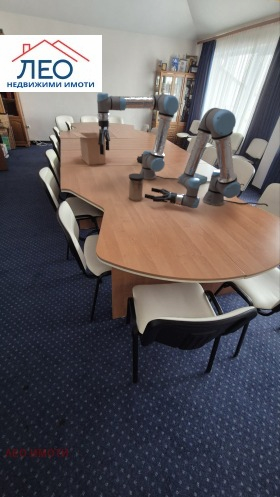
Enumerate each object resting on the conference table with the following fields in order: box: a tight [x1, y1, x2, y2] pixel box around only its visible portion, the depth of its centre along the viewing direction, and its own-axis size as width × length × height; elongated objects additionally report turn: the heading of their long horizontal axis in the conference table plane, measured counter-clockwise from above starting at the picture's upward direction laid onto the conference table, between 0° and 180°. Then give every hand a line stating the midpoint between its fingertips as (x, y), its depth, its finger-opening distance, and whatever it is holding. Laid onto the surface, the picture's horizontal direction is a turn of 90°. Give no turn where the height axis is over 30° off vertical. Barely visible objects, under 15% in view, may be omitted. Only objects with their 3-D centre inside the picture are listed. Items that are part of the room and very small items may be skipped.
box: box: [70, 129, 114, 166], centre depth 229 cm, size 44×36×27 cm
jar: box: [128, 179, 144, 202], centre depth 162 cm, size 10×10×16 cm
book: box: [177, 172, 208, 185], centre depth 200 cm, size 23×16×5 cm
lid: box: [128, 172, 145, 181], centre depth 157 cm, size 11×11×2 cm
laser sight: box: [136, 153, 143, 164], centre depth 240 cm, size 10×22×10 cm, turn 78°
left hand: (104, 152), depth 166 cm, fingers open, 13 cm apart
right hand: (148, 192), depth 160 cm, fingers open, 13 cm apart
